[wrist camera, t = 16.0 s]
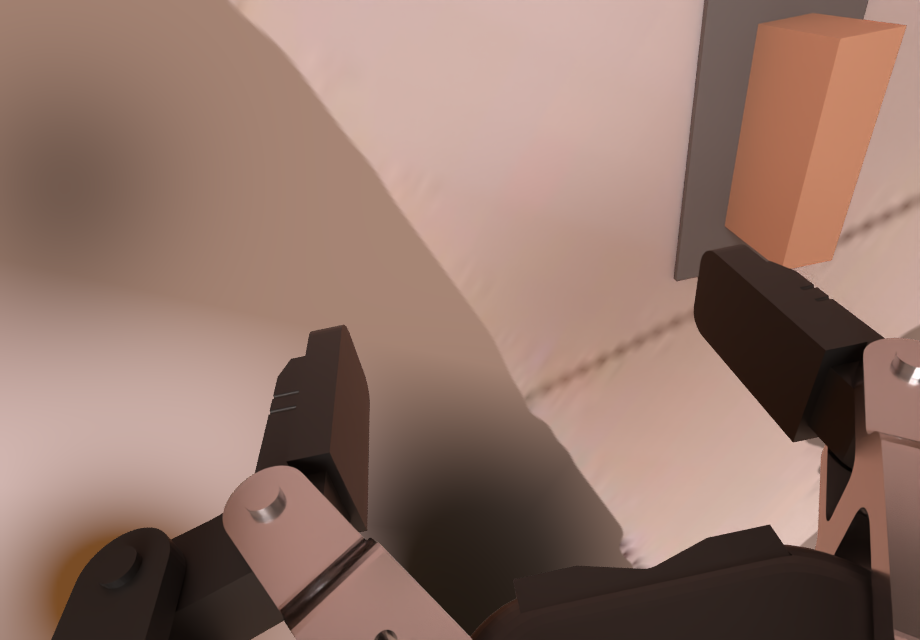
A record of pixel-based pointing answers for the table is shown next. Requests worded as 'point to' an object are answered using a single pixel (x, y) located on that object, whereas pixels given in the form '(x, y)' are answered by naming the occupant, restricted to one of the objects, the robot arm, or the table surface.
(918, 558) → the robot arm
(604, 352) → the table surface
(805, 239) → the terracotta block
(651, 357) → the table surface
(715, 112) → the rubber mat
